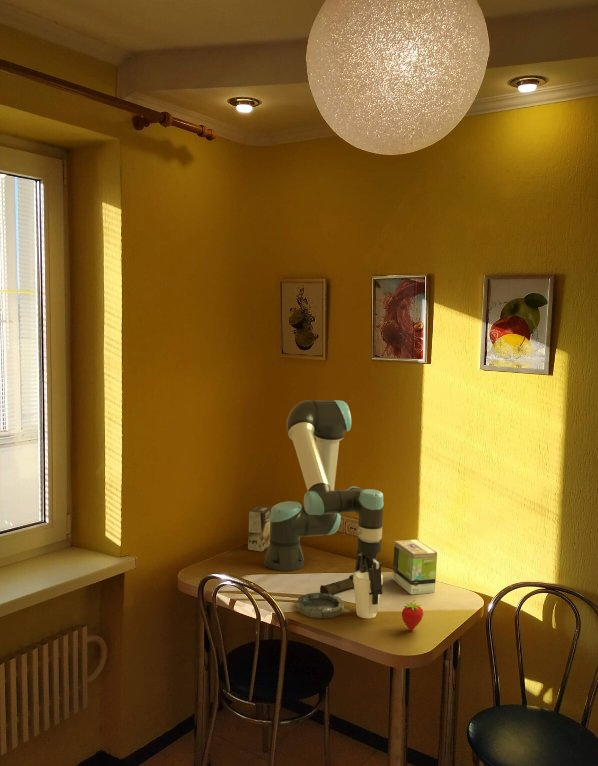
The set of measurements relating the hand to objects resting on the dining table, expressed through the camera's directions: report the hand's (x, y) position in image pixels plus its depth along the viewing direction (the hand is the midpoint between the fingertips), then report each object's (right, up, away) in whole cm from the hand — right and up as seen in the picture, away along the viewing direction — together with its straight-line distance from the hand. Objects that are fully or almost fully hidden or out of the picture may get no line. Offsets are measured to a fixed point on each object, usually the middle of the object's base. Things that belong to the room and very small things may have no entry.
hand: (366, 606), depth 225 cm
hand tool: (-7, -1, +20) cm, 21 cm away
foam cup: (0, -3, 0) cm, 3 cm away
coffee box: (-38, +5, +60) cm, 72 cm away
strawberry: (+13, -4, -10) cm, 17 cm away
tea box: (+19, -1, +25) cm, 32 cm away
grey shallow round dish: (-15, -2, +4) cm, 15 cm away
